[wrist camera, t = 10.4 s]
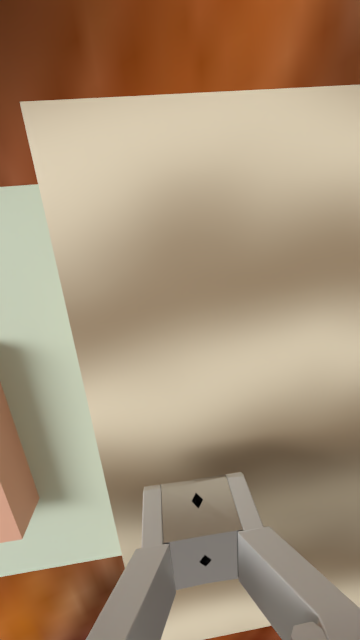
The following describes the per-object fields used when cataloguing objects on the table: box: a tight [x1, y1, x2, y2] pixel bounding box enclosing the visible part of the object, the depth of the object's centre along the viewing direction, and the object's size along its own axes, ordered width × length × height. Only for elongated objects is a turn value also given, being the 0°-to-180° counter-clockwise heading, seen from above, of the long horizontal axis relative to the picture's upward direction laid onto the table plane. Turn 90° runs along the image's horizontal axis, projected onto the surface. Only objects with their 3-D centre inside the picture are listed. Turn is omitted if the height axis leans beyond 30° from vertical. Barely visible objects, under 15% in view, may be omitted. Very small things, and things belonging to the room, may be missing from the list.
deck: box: [20, 85, 360, 640], centre depth 12 cm, size 22×14×4 cm, turn 5°
